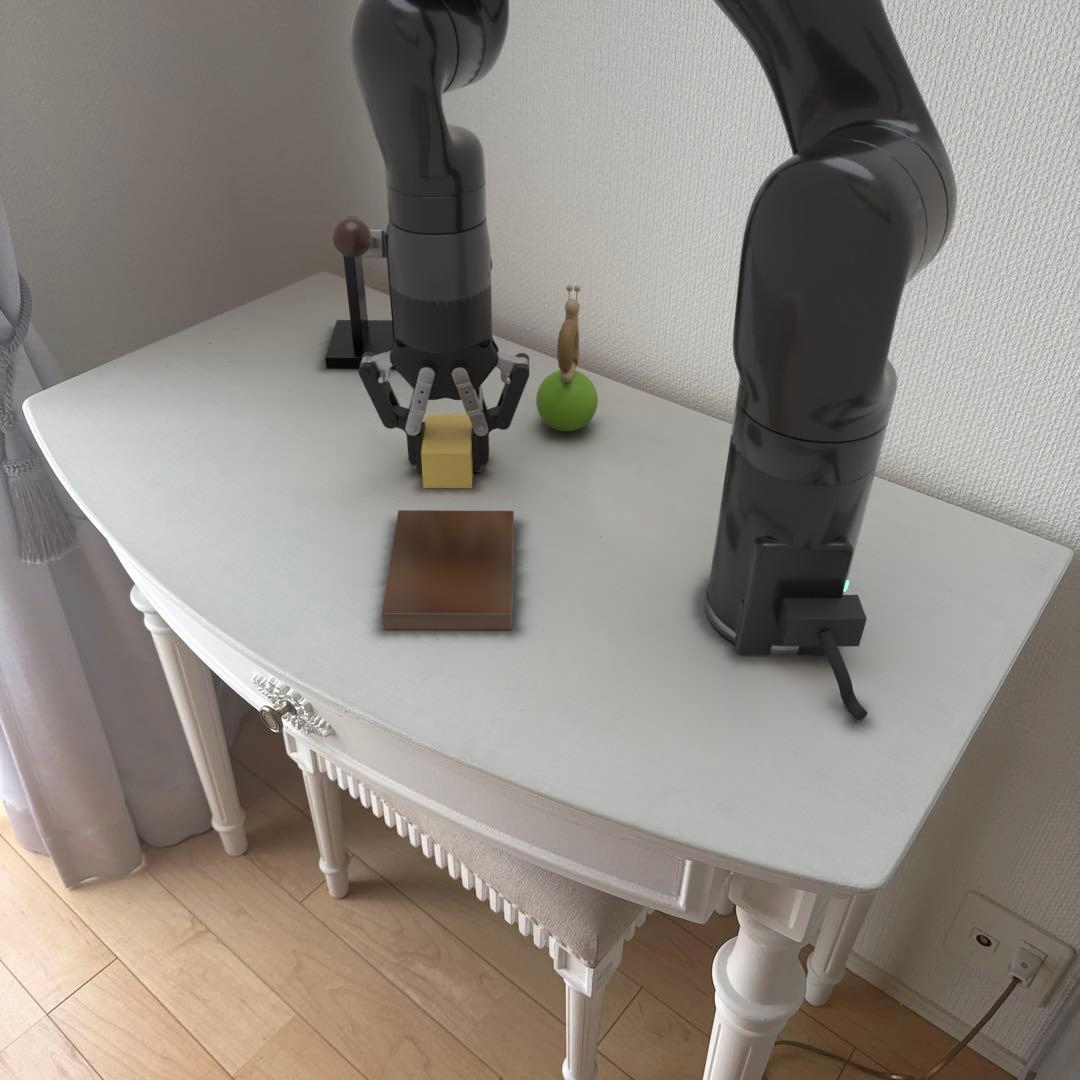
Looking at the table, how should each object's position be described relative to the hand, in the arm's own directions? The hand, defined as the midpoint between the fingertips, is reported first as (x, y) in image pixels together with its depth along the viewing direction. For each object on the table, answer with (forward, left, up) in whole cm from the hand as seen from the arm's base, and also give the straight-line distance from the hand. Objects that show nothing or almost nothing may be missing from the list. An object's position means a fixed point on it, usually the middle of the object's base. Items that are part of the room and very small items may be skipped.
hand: (449, 465), depth 88 cm
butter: (0, 0, 0) cm, 0 cm away
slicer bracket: (+21, +8, 0) cm, 22 cm away
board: (-14, -1, 0) cm, 14 cm away
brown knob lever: (+15, +8, +12) cm, 21 cm away
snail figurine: (+7, -10, 0) cm, 12 cm away
